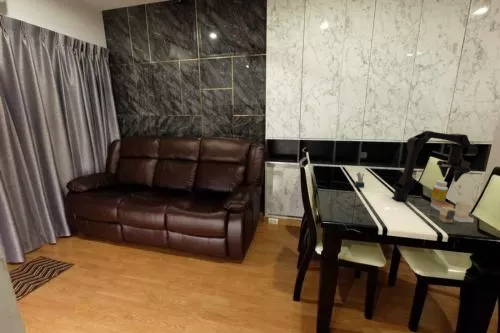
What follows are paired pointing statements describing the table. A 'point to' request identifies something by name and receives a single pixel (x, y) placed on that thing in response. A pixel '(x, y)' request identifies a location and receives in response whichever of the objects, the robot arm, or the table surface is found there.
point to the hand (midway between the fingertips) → (449, 179)
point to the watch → (360, 180)
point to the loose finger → (447, 214)
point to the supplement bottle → (439, 191)
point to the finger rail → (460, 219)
